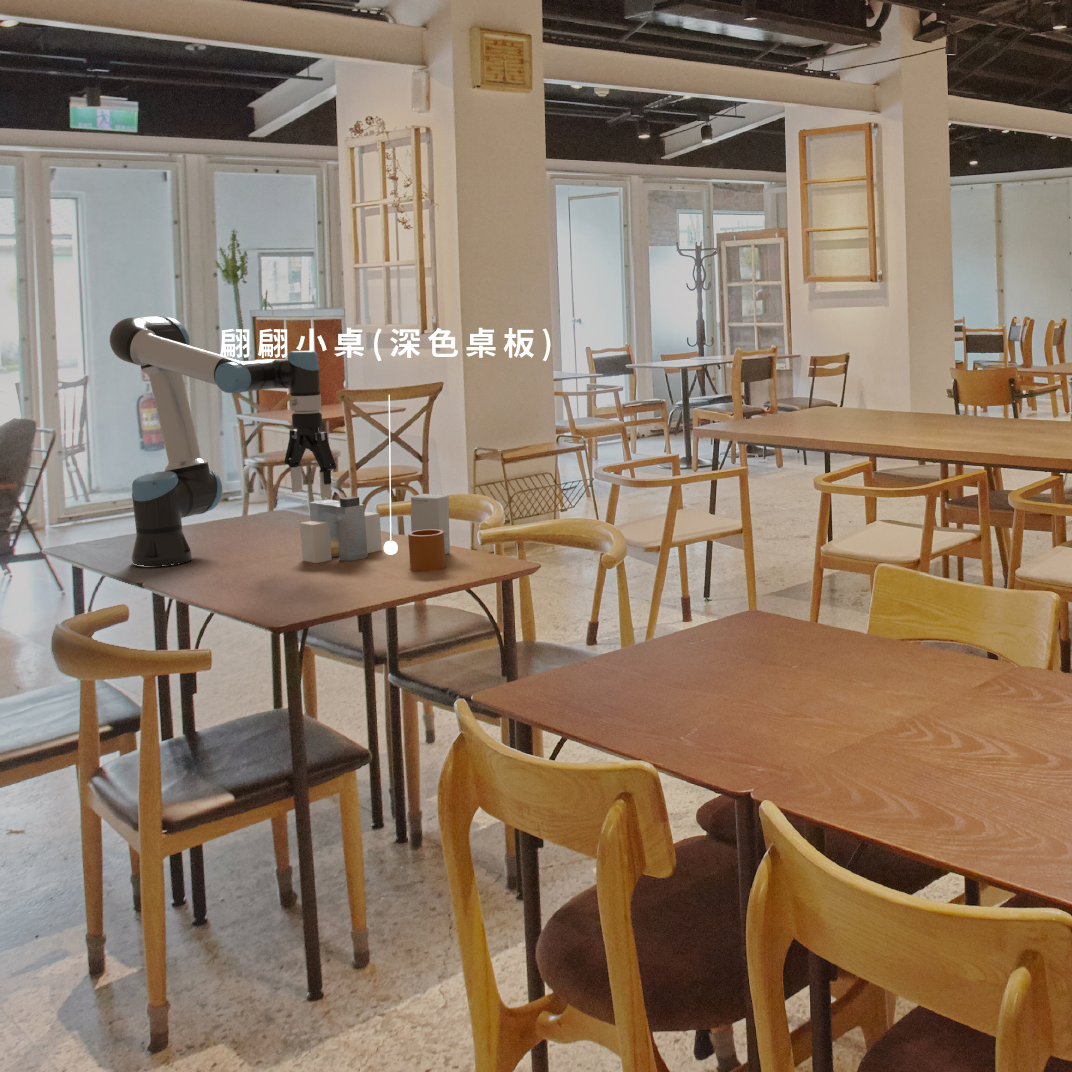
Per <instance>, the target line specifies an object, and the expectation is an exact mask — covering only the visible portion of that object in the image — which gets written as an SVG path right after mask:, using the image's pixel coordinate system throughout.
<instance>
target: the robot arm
mask: <svg viewBox="0 0 1072 1072" xmlns="http://www.w3.org/2000/svg"><path fill="white" fill-rule="evenodd" d="M109 346H110V348H111V350H112V352H113V353H114V355H115V356H116V357H117V358H119V359H120V360H122V361H124V362H126V363H130V364H134V365H136V366H140V369H141V372H143V373H144V374H145V375H147V376H148V378H149V382H150V386H151V390H152V391H151V392H152V396H153V399H154V404H155V408H156V413H157V416H158V422H159V425H160V430H161V435H162V438H163V439H162V440H163V444H164V448H165V452H166V457H167V461H168V462H167V463H168V464H167V466H166V467H165V469H164V471H157V472H153V473H152V472H151V473H146V474H143V475H140V476H138V477H136V478H135V479H134V480H133V482H132V484H131V486H132V487H131V489H132V491H131V498H132V505H133V513H134V514H133V516H134V521H135V531H136V537H135V542H134V546H133V550H132V555H131V560H132V562H133V563H134V564H137V565H144V566H162V565H171V564H178V563H182V564H185V563H184V562H186V563H189V562H191V561H192V560H193V557H192V551H191V548H190V546H189V545H190V544H188V540H187V539H186V536H185V534H184V532H183V523H182V518H188V517H190V516H191V517H192V516H195V515H202V514H206V513H207V512H209V511H212V510H214V509H215V508H216V507H217V506H218V504H219V502H220V501H221V499H222V495H223V483H222V480H221V478H220V476H219V475H218V474H217V473H216V472H215V471H214V470H212V469H210V467H209V462H208V461H207V460H206V459H204V458H203V457H202V456H201V451H200V447H199V443H198V439H197V438H198V437H197V435H196V430H195V425H194V420H193V416H192V412H191V408H190V403H189V398H188V395H187V390H186V385H185V382H184V381H185V380H184V376H186V377H189V378H193V379H195V380H198V381H201V382H205V383H209V384H212V385H215V386H217V387H218V388H219V389H220V390H221V391H222V392H224V393H226V394H227V393H228V394H231V393H232V394H241V393H246V392H252V391H253V392H254V391H263V390H271V389H289V391H290V392H289V393H290V404H291V411H292V412H293V413H292V414H291V421H292V422H291V423H292V427H293V428H294V429H290V430H289V431H288V432H289V433H288V434H289V439H288V443H287V449H286V453H285V458H284V464H285V465H288V467H289V468H290V470H289V471H290V477H291V478H290V481H291V493H300V492H303V477H302V464H301V461H302V459H303V456H304V455H305V452H306V450H309V451H310V452H311V453H312V454H313V456H314V458H315V459H316V463H317V464H318V467H319V468H320V469H319V487H320V498H322V499H323V498H329V497H332V496H333V495H332V474H331V473H332V472H331V471H333V470H336V469H337V465H336V463H335V459H334V456H333V453H332V450H331V447H330V443H329V441H328V433H327V431H320V430H319V428H321V427H323V414H322V412H320V411H321V410H322V397H321V396H322V395H321V388H320V387H321V386H320V384H321V383H320V369H321V368H320V364H319V355H318V353H317V352H316V351H315V350H292V351H289V352H288V355H287V358H266V357H265V358H259V359H254V360H238V359H235V358H232V357H229V356H226V355H222V354H219V353H216V352H212V351H208V350H205V349H203V348H198V347H195V346H192V345H191V342H190V337H189V334H188V331H187V329H186V327H185V326H184V325H183V324H182V322H180V321H178V320H177V319H175V318H173V317H167V316H161V315H160V316H144V317H141V316H140V317H128V318H127V317H126V318H123V319H121V320H120V321H119V322H118V321H117V322H116V324H115V325H114V326H113V327H112V329H111V331H110V335H109ZM190 560H191V561H190ZM188 561H189V562H188ZM133 563H132V564H133ZM178 565H179V564H178Z"/></svg>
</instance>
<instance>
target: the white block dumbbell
mask: <svg viewBox="0 0 1072 1072" xmlns="http://www.w3.org/2000/svg"><path fill="white" fill-rule="evenodd" d="M364 512H365V527H366V542H367V554H369V553H375V552H380V551H382V550H383V547H382V546H383V545H382V531H381V528H382V527H381V514H380V512H379V513H378V512H370V511H364ZM299 528H300V529H299V530H300V541H301V543H300V544H301V555H302V561H303V562H309V563H313V564H318V563H323V562H329V561H332V559H333V558H335V557H339V547H334V548H331V542H330V528H329V522H325V521H319V520H313V521H311V520H309V521H302V522H300V523H299Z"/></svg>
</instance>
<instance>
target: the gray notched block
mask: <svg viewBox="0 0 1072 1072" xmlns="http://www.w3.org/2000/svg"><path fill="white" fill-rule="evenodd" d="M365 512H366V511H365V504H362V503H360V497H359V496H347V497H346V496H345V497H339V500H335V499H329V498H327V499H322V500H317V501H316V500H315V501H310V502H309V516H310V521H313V520H319V521H325V522H329V528H330V542H331V548H334V547H339V556H338V557H339V560H340V561H345V562H352V561H357V560H362V559H367V558H369V557H368V553H367V542H366V527H365Z"/></svg>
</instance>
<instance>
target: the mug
mask: <svg viewBox="0 0 1072 1072" xmlns="http://www.w3.org/2000/svg"><path fill="white" fill-rule="evenodd" d="M407 537H408V551H409V553H408V554H409V565H410V566H409V569H410V570H411V571H414V572H433V571H434V572H437V571H439V570H442V569H445V568H447V566H446V565H447V563H446V562H447V561H446V555H445V544H444V531H442V530H437V529H425V530H416V531H412V530H411V531H409V532H408V533H407Z"/></svg>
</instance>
